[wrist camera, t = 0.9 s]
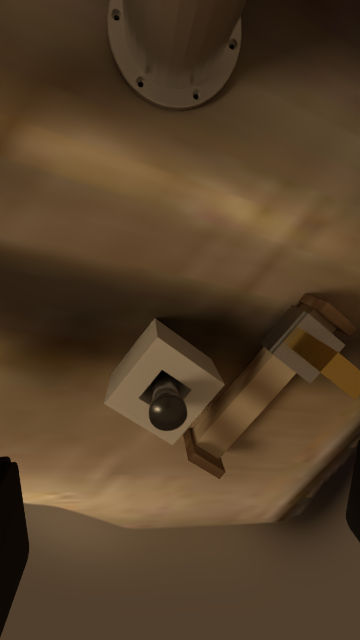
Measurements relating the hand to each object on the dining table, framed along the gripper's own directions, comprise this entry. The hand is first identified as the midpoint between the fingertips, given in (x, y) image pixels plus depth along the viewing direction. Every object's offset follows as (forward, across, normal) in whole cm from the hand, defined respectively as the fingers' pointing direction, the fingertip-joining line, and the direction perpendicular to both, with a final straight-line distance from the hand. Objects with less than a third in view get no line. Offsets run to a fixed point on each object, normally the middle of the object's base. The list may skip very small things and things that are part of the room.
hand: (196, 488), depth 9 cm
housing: (+30, -1, +9) cm, 31 cm away
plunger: (+26, -1, +9) cm, 28 cm away
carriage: (+30, -18, +6) cm, 35 cm away
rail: (+30, -13, +11) cm, 35 cm away
